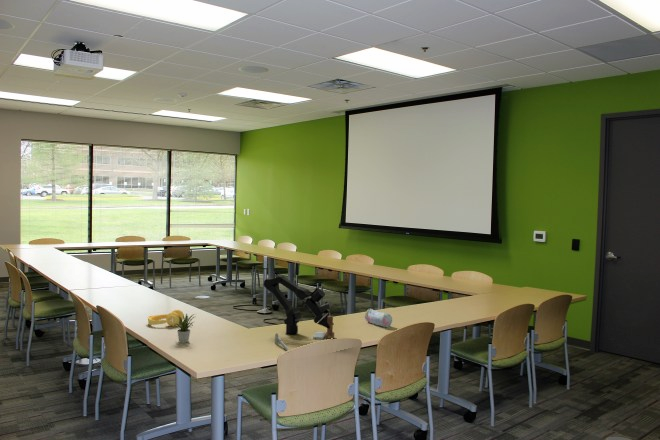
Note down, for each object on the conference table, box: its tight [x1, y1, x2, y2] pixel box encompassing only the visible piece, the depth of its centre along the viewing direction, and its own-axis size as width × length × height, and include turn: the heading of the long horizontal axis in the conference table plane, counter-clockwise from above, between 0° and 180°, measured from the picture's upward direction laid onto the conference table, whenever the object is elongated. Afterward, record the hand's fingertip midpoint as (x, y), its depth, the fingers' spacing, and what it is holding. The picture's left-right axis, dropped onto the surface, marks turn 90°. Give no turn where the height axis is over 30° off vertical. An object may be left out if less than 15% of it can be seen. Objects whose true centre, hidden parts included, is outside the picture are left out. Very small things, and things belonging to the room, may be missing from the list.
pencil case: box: [364, 308, 393, 328], centre depth 344 cm, size 21×9×10 cm, turn 31°
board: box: [312, 331, 326, 340], centre depth 310 cm, size 6×13×1 cm, turn 175°
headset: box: [147, 309, 185, 327], centre depth 333 cm, size 18×21×9 cm
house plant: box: [173, 313, 196, 343], centre depth 293 cm, size 14×14×16 cm
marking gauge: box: [324, 315, 335, 340], centre depth 306 cm, size 5×6×13 cm
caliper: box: [274, 333, 290, 352], centre depth 284 cm, size 20×1×6 cm, turn 28°
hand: (331, 326), depth 306 cm, fingers open, 9 cm apart
